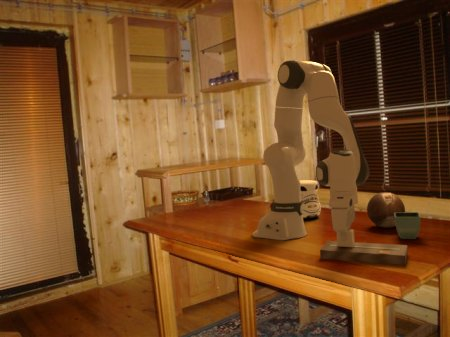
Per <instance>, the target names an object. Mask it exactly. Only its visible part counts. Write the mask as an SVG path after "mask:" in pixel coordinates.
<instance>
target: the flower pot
mask: <svg viewBox="0 0 450 337" xmlns="http://www.w3.org/2000/svg"><path fill="white" fill-rule="evenodd" d="M394 216H395V223H396V226H395V228H396V232H397V234H398V237H400V239H402V240H416V239H417V237H418V236H419V233H420V230H421V229H420V228H421V214H420V212H417V211H416V212H413V211H412V212H411V211H410V212H407V211H405V212H396V213H394Z"/></svg>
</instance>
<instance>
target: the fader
mask: <svg viewBox="0 0 450 337" xmlns="http://www.w3.org/2000/svg"><path fill="white" fill-rule="evenodd" d="M346 235H347V240H346V241H345V242H344V241H341V236H340V232H336V241H337V246H342V247H353V246H354V242H355V229H351V228H350V229H347V231H346Z"/></svg>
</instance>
